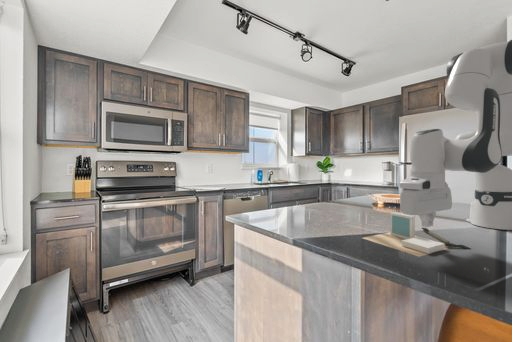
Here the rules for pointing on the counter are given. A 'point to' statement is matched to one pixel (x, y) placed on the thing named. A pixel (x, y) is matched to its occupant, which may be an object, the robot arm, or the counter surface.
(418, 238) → the tile near
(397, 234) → the tile far
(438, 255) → the counter surface
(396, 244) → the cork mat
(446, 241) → the tomahawk
